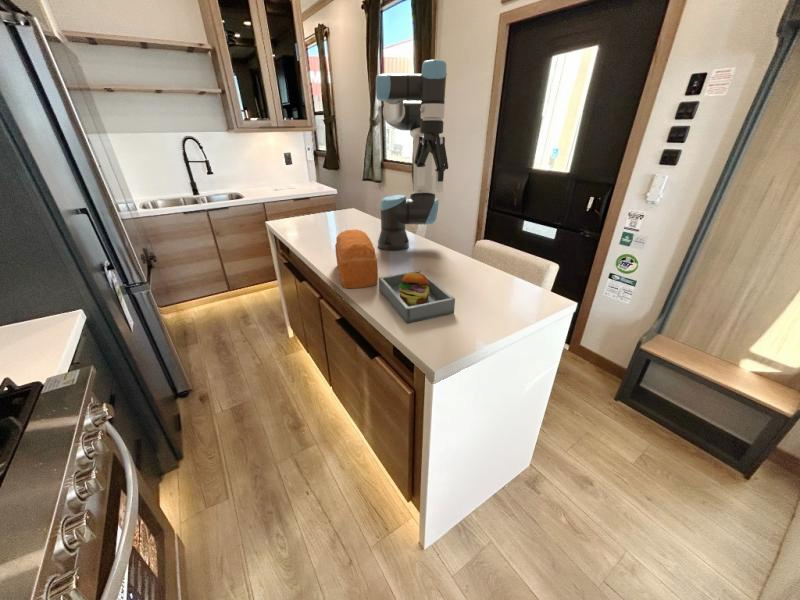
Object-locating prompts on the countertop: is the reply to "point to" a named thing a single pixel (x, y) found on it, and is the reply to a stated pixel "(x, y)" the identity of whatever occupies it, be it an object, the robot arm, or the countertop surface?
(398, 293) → the box
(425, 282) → the cheeseburger
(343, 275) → the bread
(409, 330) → the countertop surface
